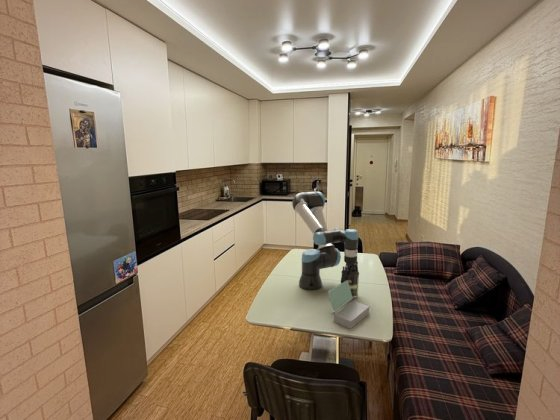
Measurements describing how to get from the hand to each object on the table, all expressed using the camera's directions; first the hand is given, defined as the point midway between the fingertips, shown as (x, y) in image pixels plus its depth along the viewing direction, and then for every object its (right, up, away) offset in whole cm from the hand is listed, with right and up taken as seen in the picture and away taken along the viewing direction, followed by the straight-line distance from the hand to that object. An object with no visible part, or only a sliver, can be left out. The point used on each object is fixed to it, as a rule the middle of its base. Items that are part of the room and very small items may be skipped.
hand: (349, 290), depth 184 cm
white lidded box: (-4, -8, -22) cm, 24 cm away
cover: (-9, +3, -20) cm, 22 cm away
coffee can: (0, -2, 0) cm, 3 cm away
